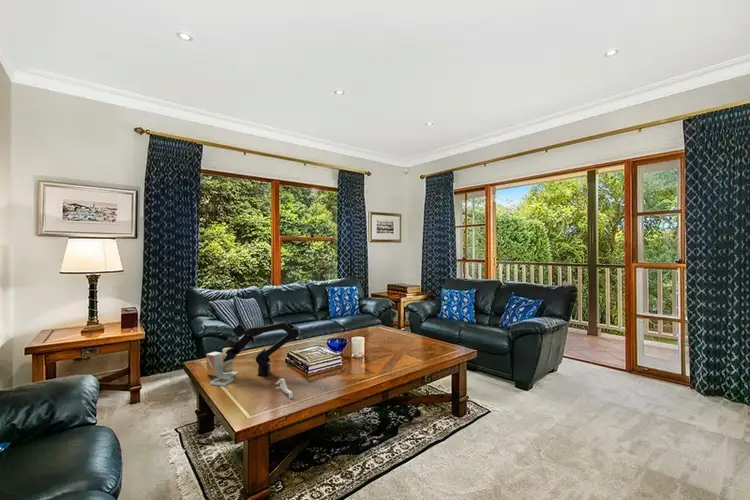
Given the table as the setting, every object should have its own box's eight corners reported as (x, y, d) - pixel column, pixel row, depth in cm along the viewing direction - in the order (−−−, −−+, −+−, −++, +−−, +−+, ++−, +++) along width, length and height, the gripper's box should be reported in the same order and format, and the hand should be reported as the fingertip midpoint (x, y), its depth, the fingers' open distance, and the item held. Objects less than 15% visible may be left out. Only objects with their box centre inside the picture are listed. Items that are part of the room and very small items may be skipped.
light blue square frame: (234, 380, 215) (234, 377, 215) (224, 386, 206) (224, 383, 206) (220, 378, 217) (220, 376, 217) (210, 384, 207) (210, 382, 207)
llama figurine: (277, 400, 201) (290, 398, 188) (274, 380, 204) (287, 376, 191) (280, 400, 202) (293, 398, 189) (277, 379, 206) (290, 376, 193)
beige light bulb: (234, 370, 223) (234, 348, 223) (225, 373, 219) (225, 351, 218) (230, 368, 227) (229, 347, 227) (220, 371, 223) (220, 349, 222)
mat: (238, 373, 226) (238, 372, 226) (229, 378, 218) (229, 377, 218) (225, 371, 228) (225, 371, 228) (216, 377, 219) (216, 376, 219)
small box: (206, 374, 223) (205, 354, 223) (215, 371, 228) (214, 351, 228) (214, 376, 219) (213, 355, 219) (224, 373, 224) (222, 352, 224)
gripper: (238, 329, 232) (221, 346, 232) (229, 337, 214) (210, 355, 213) (251, 341, 233) (233, 358, 232) (242, 350, 214) (223, 368, 214)
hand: (225, 359), depth 223 cm, fingers closed on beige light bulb, 6 cm apart
